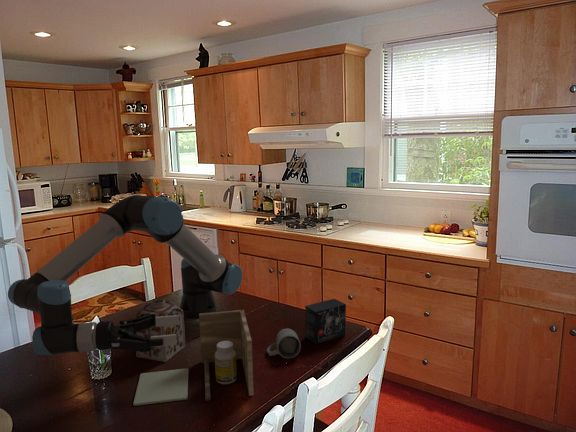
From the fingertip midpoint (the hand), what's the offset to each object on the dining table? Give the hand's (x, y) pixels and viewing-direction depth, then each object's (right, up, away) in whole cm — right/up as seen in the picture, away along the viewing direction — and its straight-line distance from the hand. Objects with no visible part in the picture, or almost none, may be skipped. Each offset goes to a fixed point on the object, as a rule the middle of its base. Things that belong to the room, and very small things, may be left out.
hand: (177, 329), depth 127 cm
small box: (+44, -11, +33) cm, 56 cm away
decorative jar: (-11, -14, +23) cm, 29 cm away
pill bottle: (+13, -16, +6) cm, 22 cm away
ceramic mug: (+30, -13, +21) cm, 39 cm away
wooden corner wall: (+13, -16, +7) cm, 21 cm away
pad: (-5, -17, +2) cm, 18 cm away
